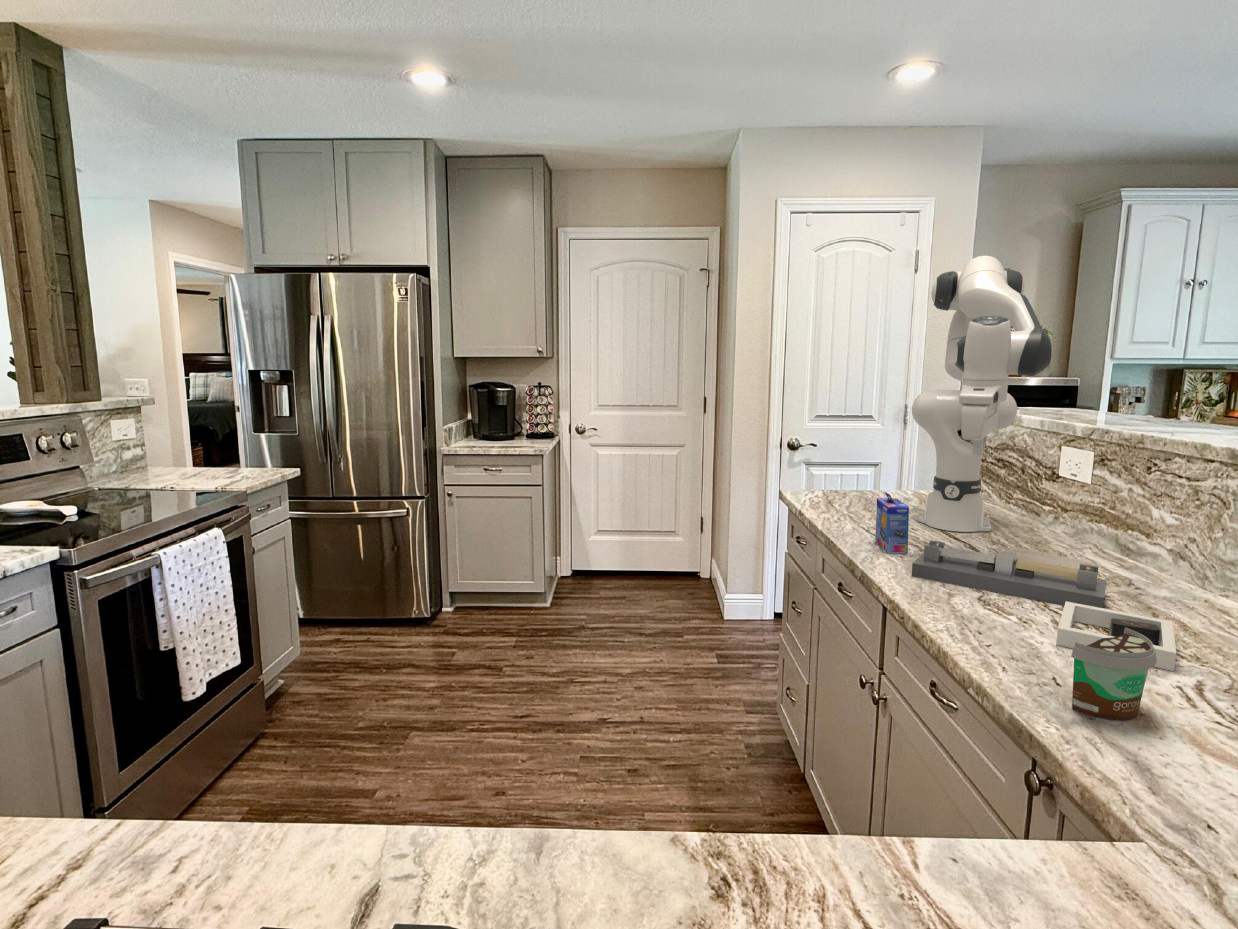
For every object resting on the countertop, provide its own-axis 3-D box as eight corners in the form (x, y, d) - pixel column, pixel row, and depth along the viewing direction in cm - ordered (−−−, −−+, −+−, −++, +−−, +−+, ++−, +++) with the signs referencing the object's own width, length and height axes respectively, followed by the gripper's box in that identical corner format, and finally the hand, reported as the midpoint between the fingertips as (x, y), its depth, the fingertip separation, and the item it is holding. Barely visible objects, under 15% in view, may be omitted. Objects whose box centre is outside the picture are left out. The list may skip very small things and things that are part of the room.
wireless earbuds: (1164, 650, 104) (1167, 632, 104) (1111, 641, 108) (1113, 623, 107) (1157, 639, 108) (1160, 621, 108) (1106, 631, 112) (1108, 614, 111)
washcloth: (1006, 555, 157) (1008, 543, 156) (1094, 572, 143) (1096, 559, 143) (988, 565, 149) (989, 552, 149) (1079, 585, 136) (1081, 571, 135)
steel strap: (931, 552, 144) (931, 544, 144) (996, 561, 136) (996, 553, 136) (928, 555, 142) (928, 547, 142) (993, 564, 134) (994, 556, 134)
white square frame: (1064, 616, 118) (1065, 601, 117) (1169, 637, 109) (1172, 621, 108) (1056, 644, 106) (1057, 628, 106) (1173, 671, 97) (1176, 653, 97)
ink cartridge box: (873, 542, 167) (876, 489, 164) (895, 543, 166) (898, 489, 164) (885, 554, 157) (888, 497, 154) (908, 554, 156) (911, 497, 154)
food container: (1114, 735, 81) (1124, 662, 79) (1064, 711, 87) (1072, 642, 85) (1169, 713, 86) (1179, 644, 84) (1119, 691, 91) (1127, 626, 90)
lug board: (925, 562, 150) (927, 536, 149) (1104, 594, 129) (1108, 563, 128) (911, 576, 141) (913, 548, 140) (1102, 612, 119) (1106, 580, 118)
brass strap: (1017, 565, 134) (1018, 557, 134) (1093, 579, 126) (1094, 570, 126) (1015, 569, 132) (1016, 561, 131) (1092, 583, 124) (1093, 574, 123)
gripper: (976, 387, 148) (971, 446, 150) (957, 396, 132) (952, 460, 135) (1007, 388, 144) (1002, 448, 146) (991, 397, 128) (985, 463, 131)
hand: (978, 454), depth 141 cm, fingers closed
